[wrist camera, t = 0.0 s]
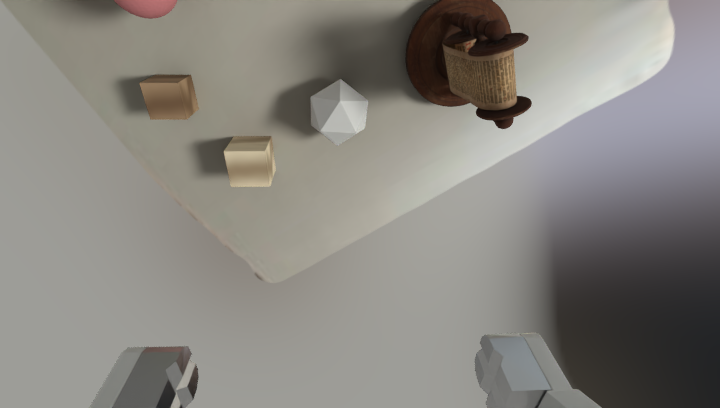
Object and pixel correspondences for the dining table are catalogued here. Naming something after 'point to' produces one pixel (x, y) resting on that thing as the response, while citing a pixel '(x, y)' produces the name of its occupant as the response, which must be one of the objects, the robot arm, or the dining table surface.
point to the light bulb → (147, 7)
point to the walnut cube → (169, 96)
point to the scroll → (467, 59)
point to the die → (338, 112)
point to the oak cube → (250, 161)
